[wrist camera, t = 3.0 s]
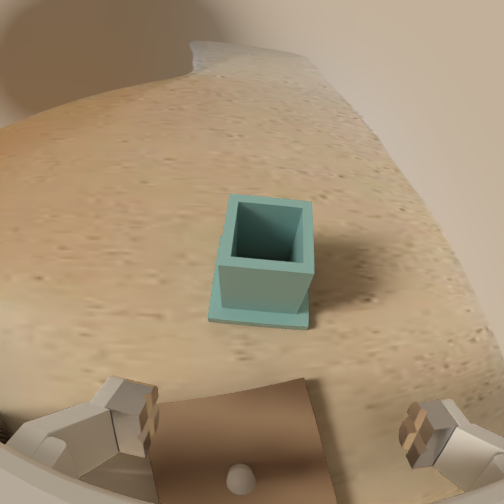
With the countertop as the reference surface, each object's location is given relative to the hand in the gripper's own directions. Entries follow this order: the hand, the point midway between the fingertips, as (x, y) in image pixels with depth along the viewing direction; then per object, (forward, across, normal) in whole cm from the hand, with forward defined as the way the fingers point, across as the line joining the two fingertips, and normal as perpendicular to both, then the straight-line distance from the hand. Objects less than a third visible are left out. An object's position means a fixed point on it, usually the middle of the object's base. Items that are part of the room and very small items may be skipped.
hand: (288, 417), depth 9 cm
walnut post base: (+8, +1, +13) cm, 15 cm away
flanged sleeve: (+19, +1, +2) cm, 19 cm away
